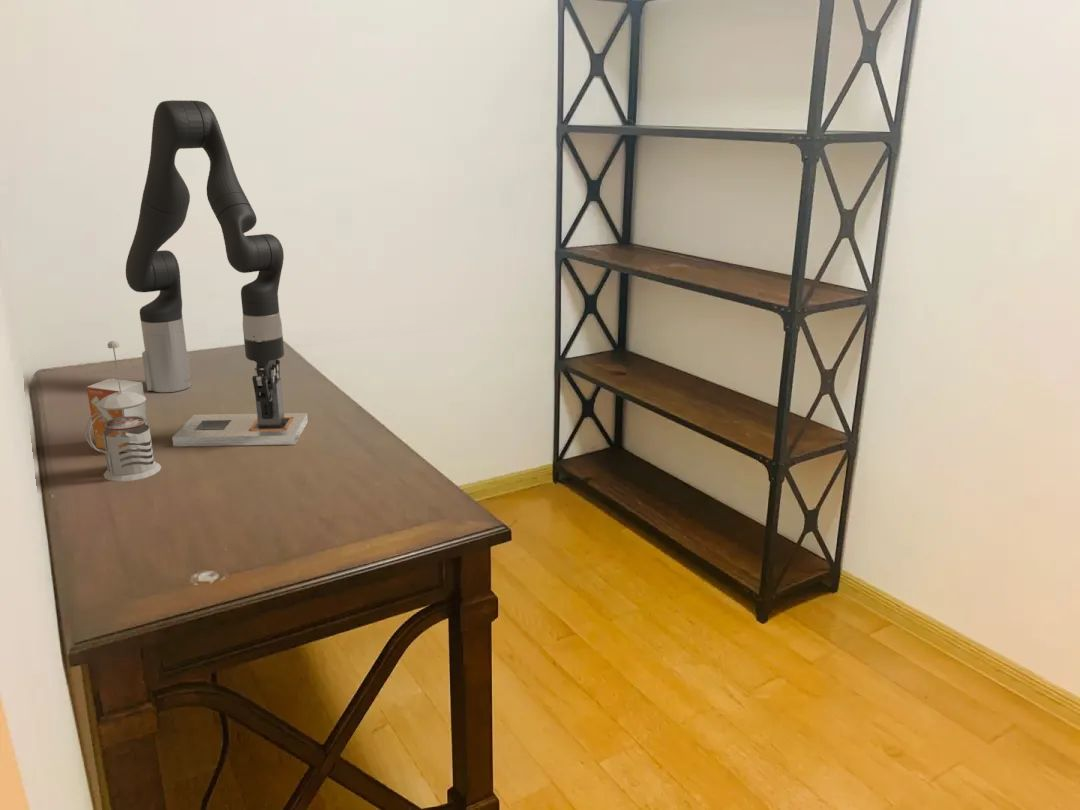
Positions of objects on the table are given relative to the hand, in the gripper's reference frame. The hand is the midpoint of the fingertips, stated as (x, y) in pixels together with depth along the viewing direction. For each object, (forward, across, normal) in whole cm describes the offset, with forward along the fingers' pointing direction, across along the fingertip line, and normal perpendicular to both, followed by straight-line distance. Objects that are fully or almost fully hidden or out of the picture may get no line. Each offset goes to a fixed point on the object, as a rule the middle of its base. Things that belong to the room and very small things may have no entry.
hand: (270, 414), depth 175 cm
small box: (+4, +6, -28) cm, 29 cm away
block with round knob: (+3, 0, 0) cm, 3 cm away
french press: (+4, +20, -22) cm, 30 cm away
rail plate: (+4, 0, -6) cm, 7 cm away
